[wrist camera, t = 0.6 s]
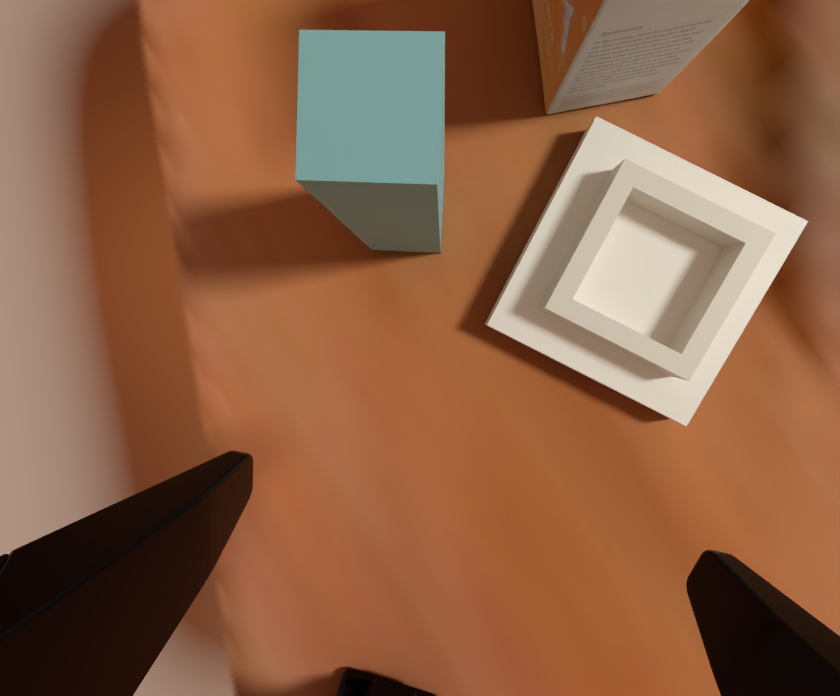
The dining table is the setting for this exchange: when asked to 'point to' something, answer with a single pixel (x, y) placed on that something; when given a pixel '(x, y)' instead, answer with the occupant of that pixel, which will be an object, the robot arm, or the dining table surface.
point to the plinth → (643, 271)
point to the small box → (620, 46)
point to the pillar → (374, 132)
